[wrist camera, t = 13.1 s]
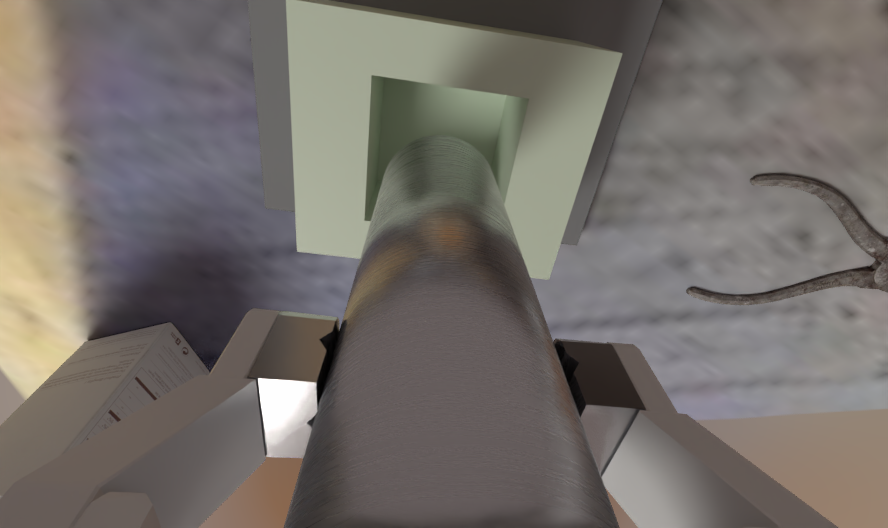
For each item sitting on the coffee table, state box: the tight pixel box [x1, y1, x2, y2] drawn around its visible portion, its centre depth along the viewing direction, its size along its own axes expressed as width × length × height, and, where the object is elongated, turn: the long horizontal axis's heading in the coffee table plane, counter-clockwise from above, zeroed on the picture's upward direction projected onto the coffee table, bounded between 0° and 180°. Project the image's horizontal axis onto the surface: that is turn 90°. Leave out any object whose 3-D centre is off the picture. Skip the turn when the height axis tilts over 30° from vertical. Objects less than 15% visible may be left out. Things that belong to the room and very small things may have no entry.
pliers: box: [686, 175, 888, 305], centre depth 28 cm, size 10×1×20 cm
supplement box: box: [0, 323, 210, 498], centre depth 27 cm, size 7×7×13 cm
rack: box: [286, 0, 623, 280], centre depth 20 cm, size 12×10×6 cm
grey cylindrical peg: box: [284, 135, 619, 528], centre depth 10 cm, size 4×4×12 cm
